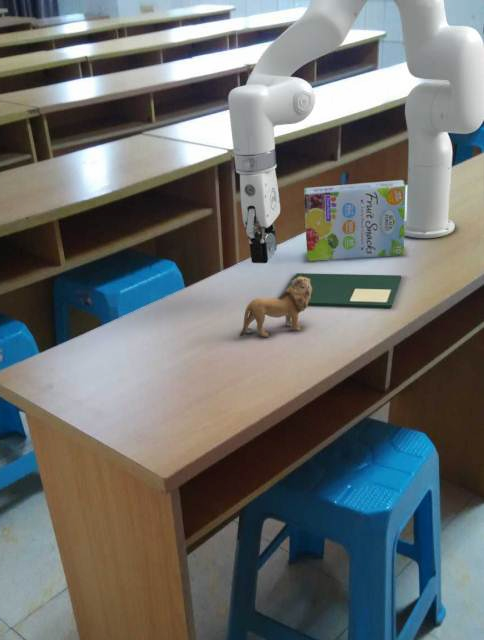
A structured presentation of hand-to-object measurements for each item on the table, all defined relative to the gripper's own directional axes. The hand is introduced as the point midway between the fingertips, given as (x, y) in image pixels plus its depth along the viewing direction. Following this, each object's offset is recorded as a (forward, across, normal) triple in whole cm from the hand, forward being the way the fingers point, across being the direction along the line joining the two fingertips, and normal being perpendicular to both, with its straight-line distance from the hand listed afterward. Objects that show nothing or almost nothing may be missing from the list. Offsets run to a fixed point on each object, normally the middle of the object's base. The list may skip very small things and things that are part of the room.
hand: (264, 255), depth 141 cm
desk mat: (+9, +4, -14) cm, 17 cm away
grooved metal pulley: (+1, 0, 0) cm, 1 cm away
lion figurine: (+9, -14, -6) cm, 18 cm away
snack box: (+9, +24, -13) cm, 29 cm away
